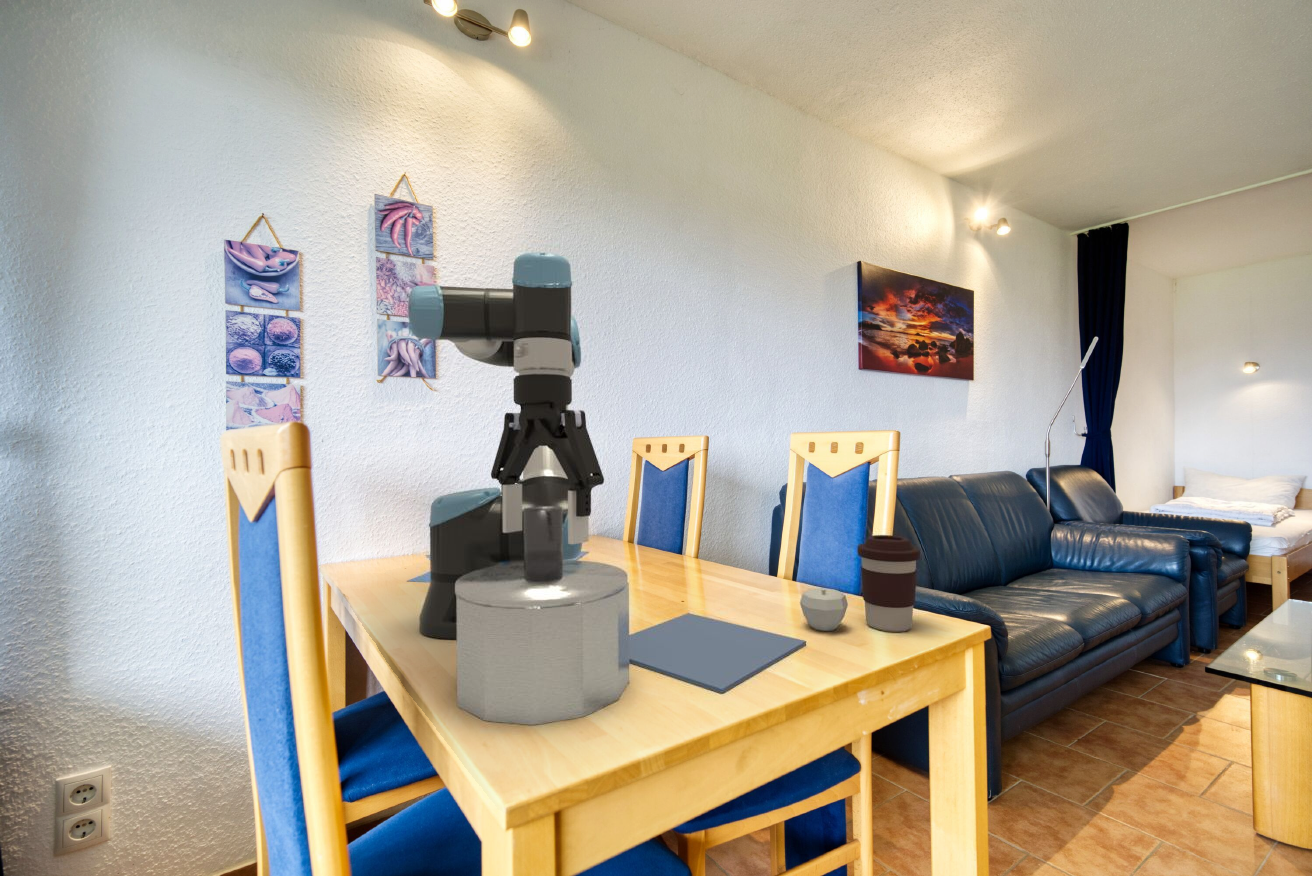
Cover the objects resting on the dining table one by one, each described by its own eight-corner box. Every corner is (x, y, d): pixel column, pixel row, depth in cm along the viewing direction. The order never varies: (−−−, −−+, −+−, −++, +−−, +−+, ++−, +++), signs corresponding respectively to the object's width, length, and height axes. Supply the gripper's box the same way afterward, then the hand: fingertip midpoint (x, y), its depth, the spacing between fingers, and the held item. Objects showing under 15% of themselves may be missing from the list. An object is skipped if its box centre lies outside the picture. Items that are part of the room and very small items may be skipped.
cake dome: (422, 688, 76) (421, 510, 76) (555, 643, 93) (554, 496, 93) (527, 745, 62) (526, 526, 62) (662, 679, 79) (661, 506, 79)
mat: (595, 651, 89) (595, 647, 89) (688, 616, 107) (688, 612, 107) (722, 693, 74) (722, 689, 74) (806, 644, 92) (806, 640, 92)
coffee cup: (927, 637, 95) (926, 543, 95) (862, 633, 97) (861, 542, 97) (913, 618, 105) (912, 534, 105) (854, 615, 107) (854, 532, 107)
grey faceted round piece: (852, 637, 95) (851, 596, 95) (801, 634, 97) (801, 594, 97) (844, 621, 103) (844, 584, 103) (798, 619, 104) (797, 582, 104)
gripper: (465, 379, 83) (465, 530, 83) (586, 364, 67) (587, 553, 67) (510, 382, 89) (510, 524, 89) (631, 370, 72) (632, 543, 72)
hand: (543, 537), depth 78 cm, fingers open, 13 cm apart
